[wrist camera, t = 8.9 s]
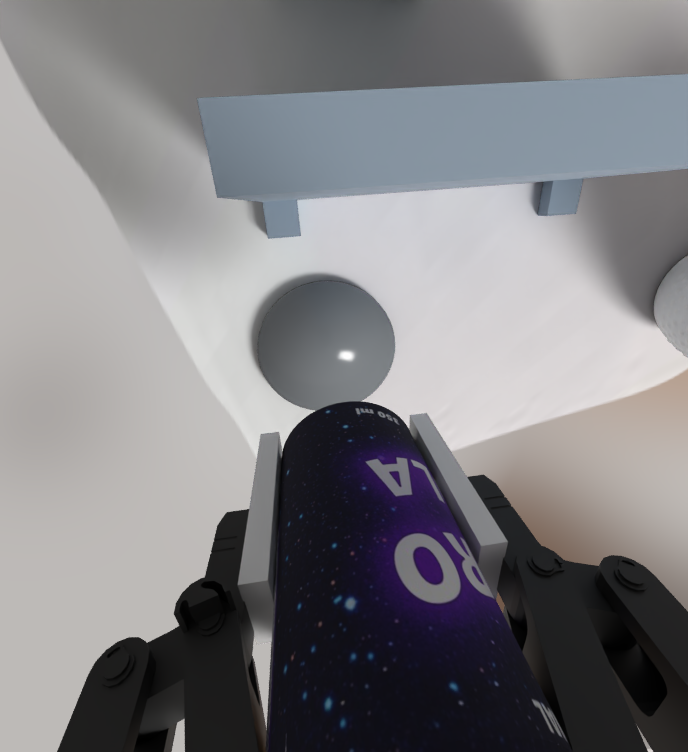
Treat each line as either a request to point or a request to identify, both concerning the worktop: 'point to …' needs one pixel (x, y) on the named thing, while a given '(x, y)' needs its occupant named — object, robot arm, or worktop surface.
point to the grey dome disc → (325, 345)
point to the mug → (674, 306)
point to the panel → (442, 140)
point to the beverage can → (386, 607)
